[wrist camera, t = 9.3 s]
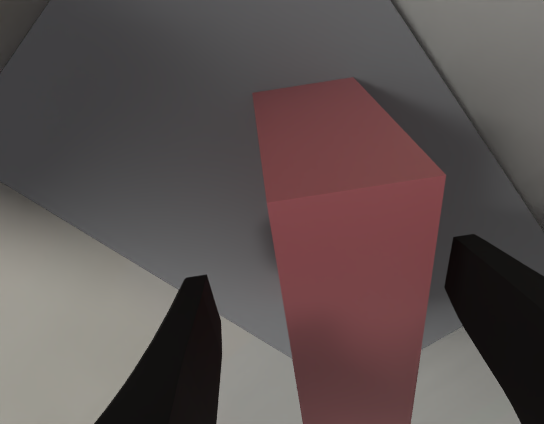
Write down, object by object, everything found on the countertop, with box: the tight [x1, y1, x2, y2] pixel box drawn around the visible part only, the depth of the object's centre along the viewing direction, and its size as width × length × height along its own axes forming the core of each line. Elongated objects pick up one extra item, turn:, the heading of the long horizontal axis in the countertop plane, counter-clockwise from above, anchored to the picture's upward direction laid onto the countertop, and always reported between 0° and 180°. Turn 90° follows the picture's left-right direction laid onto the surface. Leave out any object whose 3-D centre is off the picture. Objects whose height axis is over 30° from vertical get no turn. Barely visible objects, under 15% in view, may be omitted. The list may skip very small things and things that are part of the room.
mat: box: [0, 0, 544, 358], centre depth 14 cm, size 20×12×1 cm, turn 43°
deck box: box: [252, 77, 446, 424], centre depth 11 cm, size 3×9×6 cm, turn 8°
